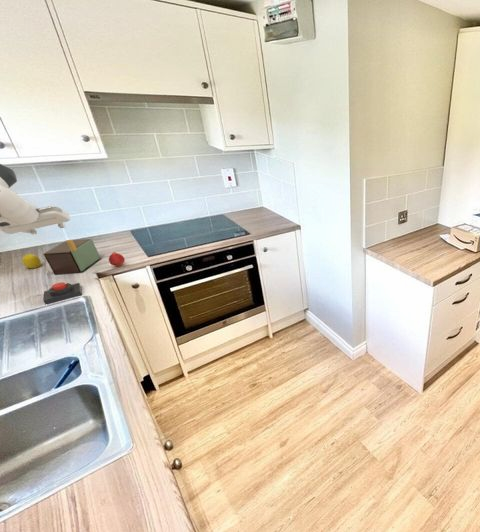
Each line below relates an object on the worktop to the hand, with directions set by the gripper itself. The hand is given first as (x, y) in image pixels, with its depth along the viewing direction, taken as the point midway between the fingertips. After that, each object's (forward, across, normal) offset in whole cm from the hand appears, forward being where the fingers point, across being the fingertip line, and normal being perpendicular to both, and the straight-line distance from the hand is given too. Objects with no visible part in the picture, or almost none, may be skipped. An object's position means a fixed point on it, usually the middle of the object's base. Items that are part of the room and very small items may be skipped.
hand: (49, 229), depth 135 cm
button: (+6, +3, +25) cm, 26 cm away
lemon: (+30, +23, -2) cm, 38 cm away
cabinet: (+29, +6, +3) cm, 30 cm away
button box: (+8, +3, +27) cm, 29 cm away
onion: (+25, -11, +12) cm, 30 cm away
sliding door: (+28, 0, +5) cm, 28 cm away
